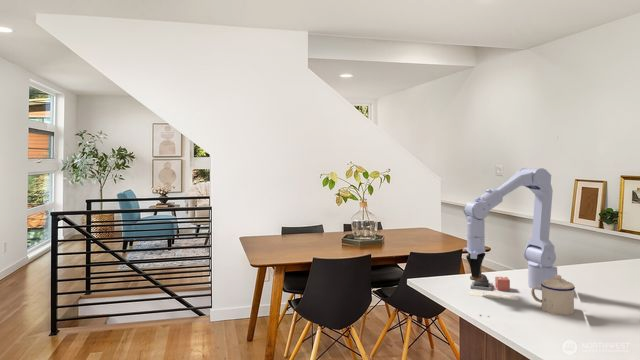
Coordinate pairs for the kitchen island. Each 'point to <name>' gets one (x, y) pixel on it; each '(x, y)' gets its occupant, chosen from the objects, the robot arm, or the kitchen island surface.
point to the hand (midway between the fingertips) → (476, 275)
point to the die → (502, 283)
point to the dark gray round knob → (482, 282)
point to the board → (489, 293)
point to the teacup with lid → (556, 296)
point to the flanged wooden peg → (477, 277)
